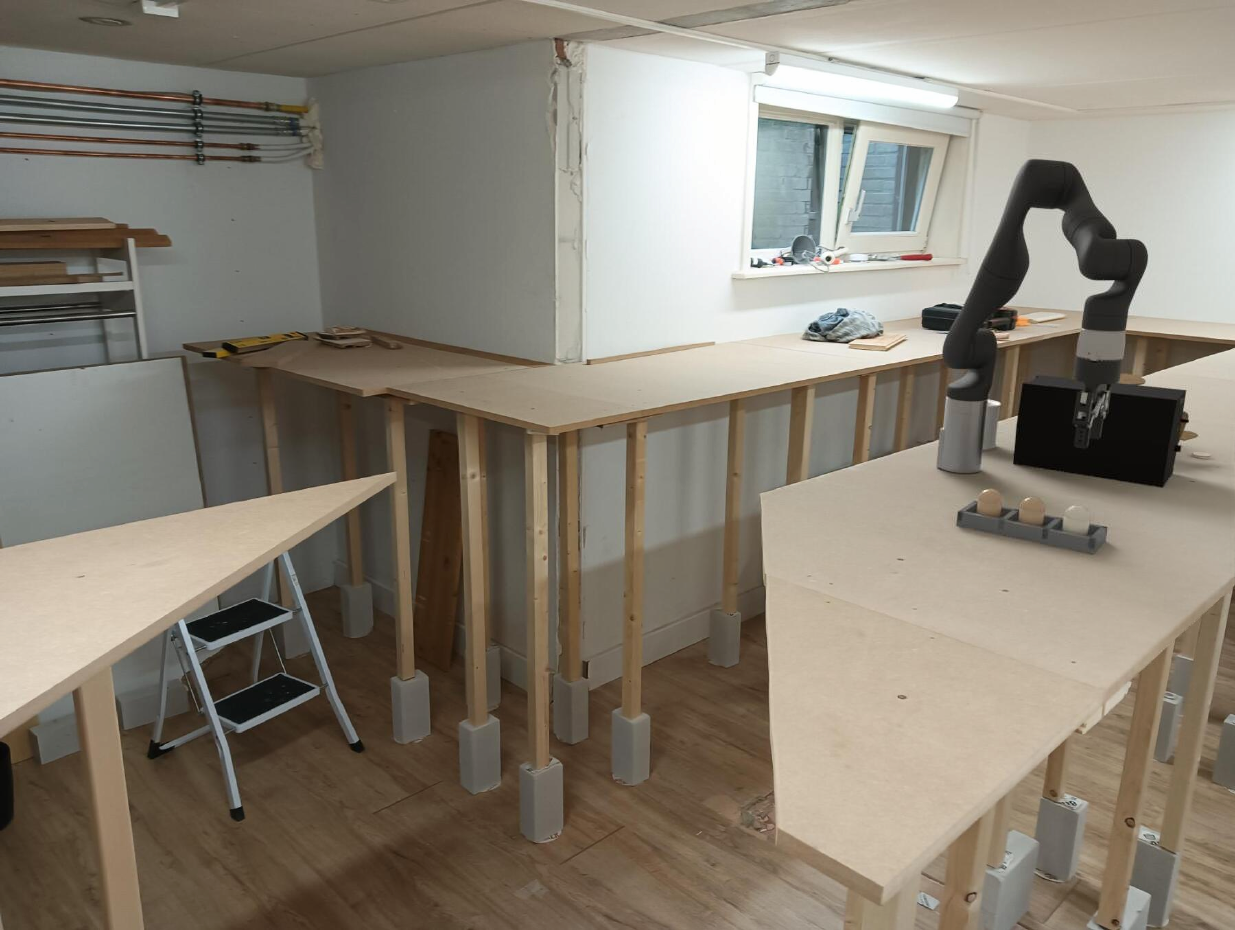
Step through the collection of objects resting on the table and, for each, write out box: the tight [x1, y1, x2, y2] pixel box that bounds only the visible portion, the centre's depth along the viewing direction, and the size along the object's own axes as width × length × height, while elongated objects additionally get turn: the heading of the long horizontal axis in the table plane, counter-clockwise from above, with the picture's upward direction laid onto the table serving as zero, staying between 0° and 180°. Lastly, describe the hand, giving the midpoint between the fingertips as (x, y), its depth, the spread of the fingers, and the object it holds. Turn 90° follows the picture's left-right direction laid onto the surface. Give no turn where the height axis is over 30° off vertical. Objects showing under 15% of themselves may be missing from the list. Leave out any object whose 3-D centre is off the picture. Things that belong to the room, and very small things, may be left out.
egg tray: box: [956, 500, 1109, 555], centre depth 181 cm, size 25×9×3 cm, turn 50°
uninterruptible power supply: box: [1012, 374, 1190, 488], centre depth 222 cm, size 16×34×20 cm, turn 53°
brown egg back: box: [977, 488, 1003, 518], centre depth 186 cm, size 4×4×6 cm
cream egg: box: [1062, 504, 1091, 537], centre depth 176 cm, size 4×4×6 cm
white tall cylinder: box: [983, 399, 1002, 451], centre depth 244 cm, size 10×9×20 cm
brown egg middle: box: [1018, 496, 1046, 527], centre depth 181 cm, size 4×4×6 cm
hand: (1087, 442), depth 172 cm, fingers open, 8 cm apart
